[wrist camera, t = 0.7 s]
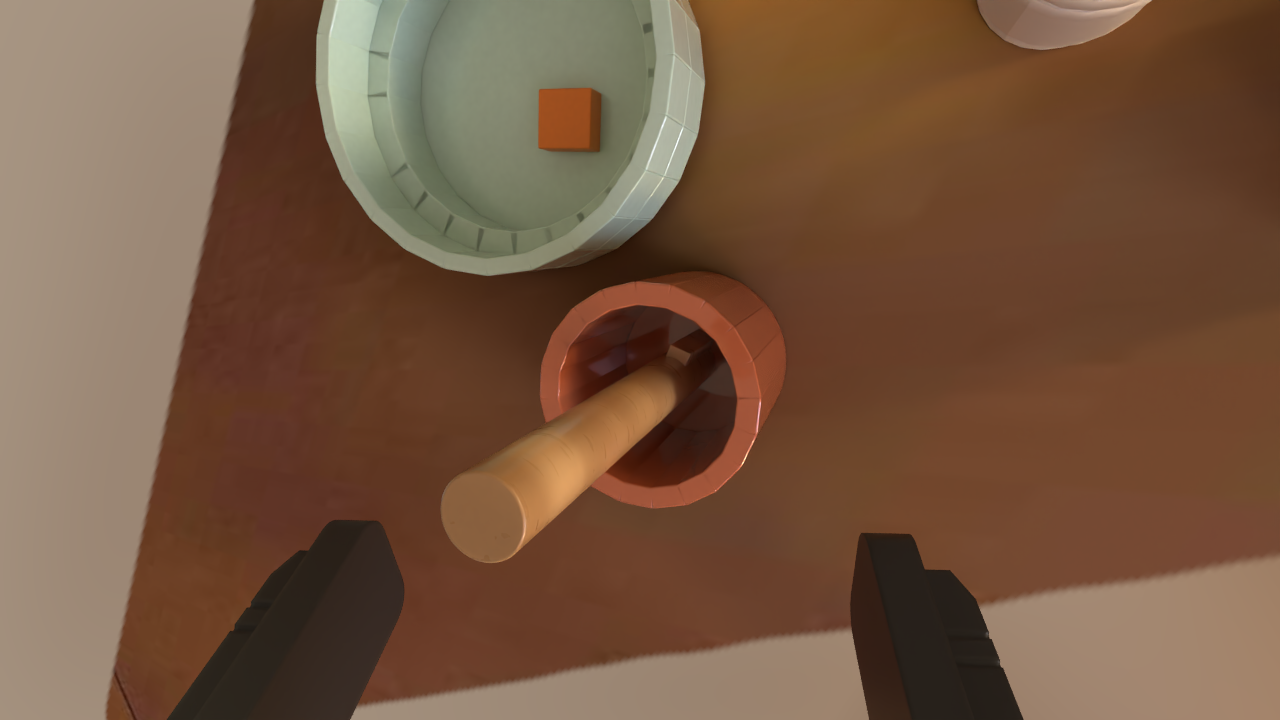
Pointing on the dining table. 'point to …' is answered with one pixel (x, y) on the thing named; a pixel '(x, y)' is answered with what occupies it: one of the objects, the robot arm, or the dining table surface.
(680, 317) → the crock
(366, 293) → the dining table surface
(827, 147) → the dining table surface
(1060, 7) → the candle
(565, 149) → the carrot chunk
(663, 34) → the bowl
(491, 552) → the stirring stick
